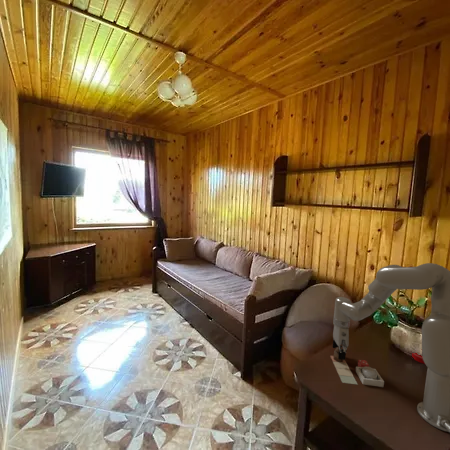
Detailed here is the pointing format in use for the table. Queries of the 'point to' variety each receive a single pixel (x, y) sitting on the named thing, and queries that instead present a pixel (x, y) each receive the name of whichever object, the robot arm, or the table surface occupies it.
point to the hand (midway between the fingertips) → (338, 353)
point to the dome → (369, 373)
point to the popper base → (367, 381)
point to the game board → (344, 372)
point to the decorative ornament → (418, 358)
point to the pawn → (337, 355)
